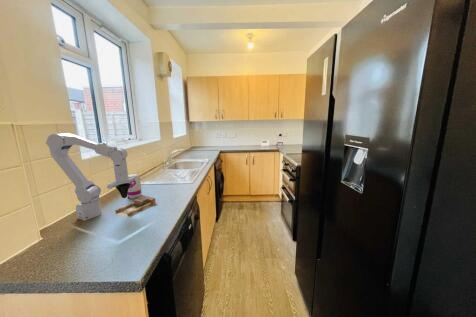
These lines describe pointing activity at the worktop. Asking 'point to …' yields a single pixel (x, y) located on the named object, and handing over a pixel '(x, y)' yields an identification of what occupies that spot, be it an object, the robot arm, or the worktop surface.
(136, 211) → the guide channel
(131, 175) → the supplement can
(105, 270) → the worktop surface
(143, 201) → the block
